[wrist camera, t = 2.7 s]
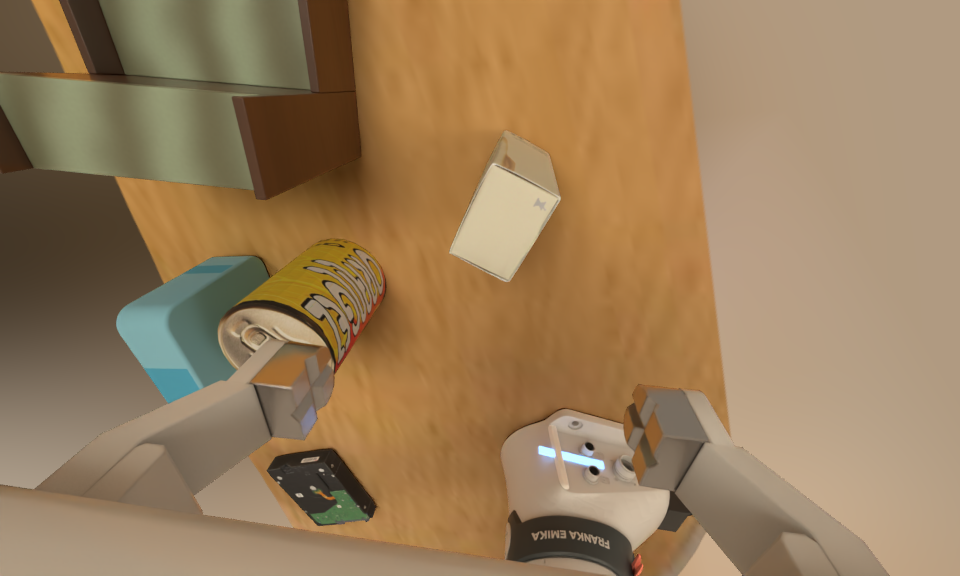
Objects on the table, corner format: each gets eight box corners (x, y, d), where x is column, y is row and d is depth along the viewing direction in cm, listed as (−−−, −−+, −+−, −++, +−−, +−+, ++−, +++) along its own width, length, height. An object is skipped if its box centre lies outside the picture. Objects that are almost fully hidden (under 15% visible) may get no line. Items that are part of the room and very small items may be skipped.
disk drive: (275, 453, 55) (325, 510, 61) (264, 470, 52) (317, 528, 59) (332, 444, 52) (378, 505, 59) (323, 462, 50) (372, 523, 56)
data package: (220, 251, 38) (104, 316, 27) (259, 250, 37) (157, 315, 27) (262, 343, 43) (181, 424, 33) (297, 343, 43) (225, 426, 33)
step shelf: (340, -81, 24) (165, -238, 12) (361, 156, 31) (266, 200, 20) (110, -94, 25) (-259, -253, 13) (184, 140, 32) (-8, 172, 21)
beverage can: (359, 328, 41) (304, 412, 30) (288, 281, 39) (202, 354, 28) (402, 276, 37) (355, 352, 26) (325, 220, 35) (241, 279, 24)
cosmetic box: (504, 127, 29) (493, 153, 18) (551, 153, 30) (566, 192, 19) (470, 197, 32) (444, 254, 22) (513, 220, 33) (509, 285, 22)
